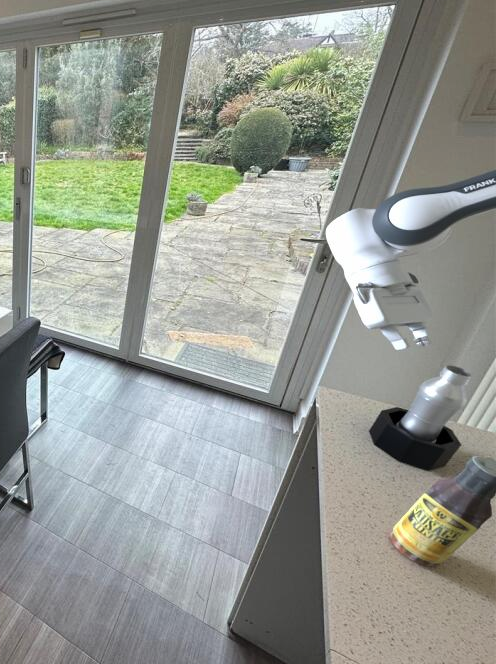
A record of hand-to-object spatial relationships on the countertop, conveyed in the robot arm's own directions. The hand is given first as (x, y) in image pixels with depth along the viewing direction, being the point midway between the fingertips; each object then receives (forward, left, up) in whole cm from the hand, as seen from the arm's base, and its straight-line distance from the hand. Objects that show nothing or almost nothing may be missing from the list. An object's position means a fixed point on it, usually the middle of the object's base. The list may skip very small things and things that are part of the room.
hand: (414, 347), depth 79 cm
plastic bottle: (-3, +6, -22) cm, 23 cm away
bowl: (-3, +6, -22) cm, 23 cm away
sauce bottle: (+21, +22, -22) cm, 37 cm away
